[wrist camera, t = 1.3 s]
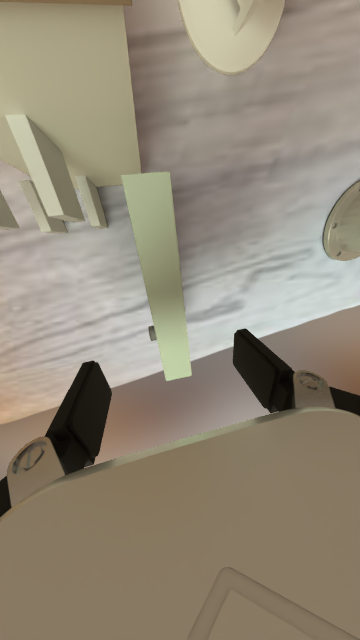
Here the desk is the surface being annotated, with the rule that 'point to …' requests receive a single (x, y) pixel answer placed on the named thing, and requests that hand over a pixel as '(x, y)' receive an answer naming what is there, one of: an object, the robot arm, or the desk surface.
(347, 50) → the desk surface
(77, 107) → the cabinet
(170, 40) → the desk surface
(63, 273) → the desk surface
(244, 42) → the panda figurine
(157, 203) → the door
